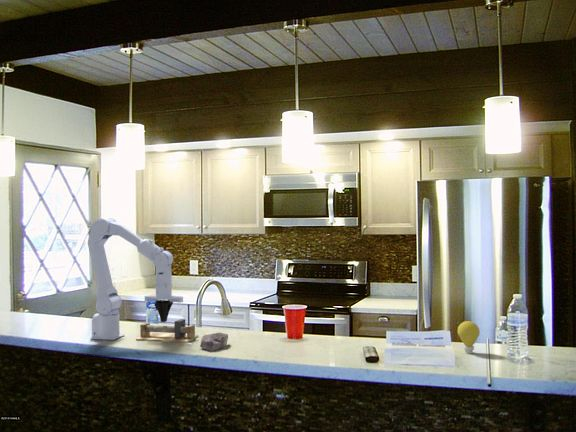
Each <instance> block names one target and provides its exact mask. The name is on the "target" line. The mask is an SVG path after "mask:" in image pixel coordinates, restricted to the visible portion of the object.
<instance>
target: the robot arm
mask: <svg viewBox="0 0 576 432" xmlns="http://www.w3.org/2000/svg"><path fill="white" fill-rule="evenodd" d="M89 231H90V232H89V235H88V240H87V246H88V250H89V251H88V252H89V255H90V259H91V264H92V268H93V273H94V277H95V280H96V284H97V291H96V294H95V298H96V301H95V309H96V311H97V312H98V313H94V315H92V318H91V337H90V340H91V339H92V340H106V341H107V340H109V341H113V340H117V339H118V338H122V337H124V336H125V334H124V333H120V330H121V329H120V326H121V325H120V308H121V307H122V304H123V299H122V297H121V296H120V295H119V293H118V290H117V288H116V287H114V283H113V280H112V275H111V270H110V266H109V263H108V258H107V253H106V250H105V246H104V245H105V244H106V242H107V241H108V240H109V238H111V237H112V236H119V237H120V238H122V239H124V240H126V241H127V242H129V243H130V244H132V245H133V246H135V247H136V249H137V252H138V253H139V254H141V255H142V256H144V257H145V258H147V259H148V260H149V261H151V262H152V263H153V265H154V267H155V295H154V294H153V295H144V302H155V303H154V307H155V309H156V310H157V313H158V315H159V319H160V322H161V323H166V322H167V321H168V317H169V313H170V310H171V308H172V306H173V305H174V303H179V304H180V303H183V302H184V297H183V296H178V295H172V292H173V291H172V288H173V287H172V286H173V285H172V284H173V283H172V281H173V280H172V279H173V278H172V265H173V263H174V255H173V254H172V253H171V251H170V250H164V247H161V246H158V245H157V244H155V243H154V240H153V239H152V238H151V239H148V238H145V239H142V238H141V237H140V236H138V235H137V234H136V233H135V232H133V231H132V230H130V229H129V228H127V227H126V226H125V225H124V224H122V223H121V222H119V221H117V220H116V219H114V218H112V217H111V218H110V217H109V218H97V219H95V220H94V221H93V222H92V223H91V224H90V226H89Z"/></svg>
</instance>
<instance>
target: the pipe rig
mask: <svg viewBox="0 0 576 432" xmlns="http://www.w3.org/2000/svg"><path fill="white" fill-rule="evenodd" d="M139 328H140V329H139V330H140V332H139V333H140V336H138V337H137V338H135V341H144V342H145V341H147V342H164V343H184V344H185V343H186V344H187V343H189V342H191V341H193V340H195V339H197V338H199V335H197V334H196V325H195V324H190V325H189V326H185V327H183V326H180V333H186V335H185V336H183V337H181V338H175V326H174V325H157V324H156V325H154V324H152V325H151V323H150V322H145V323H141V324H140V327H139Z"/></svg>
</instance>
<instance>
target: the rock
mask: <svg viewBox="0 0 576 432" xmlns="http://www.w3.org/2000/svg"><path fill="white" fill-rule="evenodd" d="M228 341H229V334H227V333H223V332H216V333H215V332H214V333H210V334H209V333H208V334H204V335H203V336H202V337H201V340H200V345H199V346H200V348H201V349H202V350H207V351H209V352H212V351H216V350H220V349H221V348H223V347H225V346H226V345H227V344H228Z"/></svg>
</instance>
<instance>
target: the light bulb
mask: <svg viewBox="0 0 576 432" xmlns="http://www.w3.org/2000/svg"><path fill="white" fill-rule="evenodd" d="M457 334H458V337H459V339H460V340H461V343H463V350H464V354H469V355H470V354H473V353H474V352H473V351H474V350H475V346H474V345H475V343H476V341H477V340H478V338H479V337H480V327H478V325H477V324H476V323H475V322H473V321H470V320H466V321H463V322H461V323H460V324H459V325H458V327H457Z"/></svg>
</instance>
